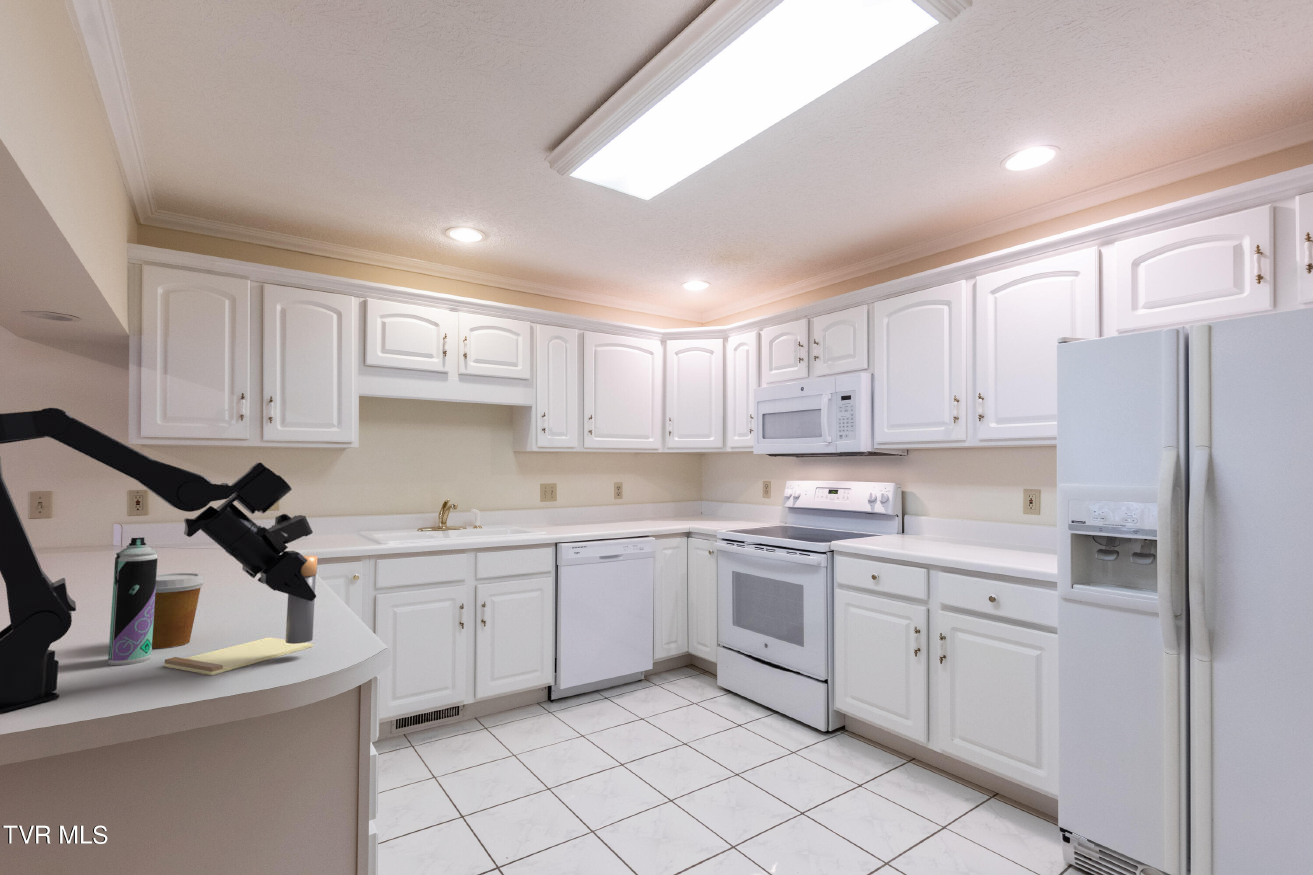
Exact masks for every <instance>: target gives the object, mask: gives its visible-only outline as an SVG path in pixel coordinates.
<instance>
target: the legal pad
mask: <svg viewBox="0 0 1313 875" xmlns="http://www.w3.org/2000/svg"><path fill="white" fill-rule="evenodd" d="M313 646H314V644H313V643H310V642H305V643H298V644H290V643H286V639H284V638H283V639H282V638H275V637H270V636H269V637H265V638H261V639H257V640H253V641H249V642H246V643H240V644H237V645H232V646H228V647H225V648H221V649H217V650H213V651H208V652H205V653H201V654H197V655H192V656H188V657H184V658H183V657H178V656H174V657H168V658H165V659H164V667H165V668H171V669H175V670H183V671H187V672H193V673H197V674H198V673H199V674H203V675H209V676H214V675H218V674H221V673H225V672H228V671H231V670H234V669H238V668H242V667H247V666H249V665H253V664H256V663H260V662H264V661H266V660H270V659H273V658H277V657H281V656H284V655H288V654H292V653H296V652H299V651H302V650H305V649H309V648H313Z"/></svg>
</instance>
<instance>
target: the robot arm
mask: <svg viewBox="0 0 1313 875" xmlns="http://www.w3.org/2000/svg"><path fill="white" fill-rule="evenodd" d="M44 438H49V439H52V440H53V441H57V442H58V443H61V444H63V445H65V446H66V447H68V448H71V449H72V450H74V451H76V452H78V453H80V454H82V455H85V456H87V457H88V458H91V459H93V460H94V461H97V462H98V463H101V464H103V465H105V466H107V467H108V468H110V469H112V470H115V471H117V472H119V473H121V474H123V475H125V476H127V477H129V478H131V479H133V480H135V481H137V482H138V483H139V484H140V485H142V487H145V488H146V489H147V490H149V491H150V492H151V493H152V494H154V495H155V496H156V497H158V498H160V499H161V500H162V501H163V502H165V503H167V505H169V506H171V507H172V508H174V509H177V510H180V511H182V512H189V513H191V512H192V513H193V512H197V511H201V510H203V509H204V510H203V511H201V512H200V513H199V514H198V515H197V516H195V517H193V518H188V517H186V518H184V519H183V522H184V525H185V526H184V531H183V534H184V535H185V536H187V537H188V538H192V537H193V536H194V535H195V534H197V533H198V532H199V531H201V532H202V533H204V534H205V535H206V536H207V537H209V539H210V540H212V541H213V542H214V543H216V544H217V545H218V546H219V547H220V548H222V549H223V550H224V552H226V553H227V554H228V555H229V556H230V557H233V558H234V560H236V561H237V562H238V563H239V564H241V565H242V571H243V572H245V573H246V574H247V575H248V576H249V577H251V578H252V579H255V578H256V577H257V576H258V575H259V576H260V577H258V579H257V582H259V583H260V584H263V585H265V586H267V588H269V589H270V590H272V591H274V592H275V591H276V592H280V593H283V594H287V595H288V594H289V595H292V596H296V597H299V598H302V599H305V600H309V601H313V600H314V599H317V595H316V592H315V593H314V592H313V590H312V589H311V587H310V586H309V584H308V583H307V581H306V580H305V578H304V577H303V575H302V573H301V570H302V566H303V565H304V564H305V563H306V562H307V559H306V558H304V557H303V556H304V555H303V554H301V553H300V552H299V551H296V550H287V549H288V548H289V547H288V546H287V544H290V543H292V542H295V541H298V540H299V539H300V538H302V537H308V536H310V535H312V534H313V532H314V531H313V529H312V527H311V524H310V523H309V521H308V518H307V516H306V515H302V514H299V515H294V516H292V517H291V516H290V515H288V514H287V513H282V514H279V515H277V516H276V517H275V518H274V520H275V521H274V524H273V525H271V527H269V528H267V527H266V526H261V525H258V524H257V523H256V522H254V520H253V519H251V518H250V517H249V516H248V515H247V514H245V512H243V511H242V510H241V509H240V508H239V507H237V505H235V503H236V502H237V504H239V506H241V507H242V508H243V509H245V510H246V511H247V512H248V513H249V514H252V515H254V514H256V512H258V513H261V514H263V515H264V514H265V513H267V511H269V510H270V509H271V508H272V507H273V506H275V505H276V504H277V503H278V502H280V500H282V499H283V498H284V497H285V496H286V495H287V494H289V493H290V492H291V491H292V490H293V489H292V487H291V485H290V484H289V483H288V482H287V481H286V480H285V479H284V478H283V477H282V476H281V475H279V474H276V473H275V472H274V471H272V470H271V469H270V468H268V467H267V466H265V464H263V463H262V462H255V464H253V465H252V466H251V467H250V468H249V469H248V471H247V472H245V473H244V474H243V475H241V476H240V477H239V478H238V479H236V480H235V481H234V482H233V483H232V484H231V483H230V484H228V483H227V482H221V483H220V484H218V483H212V481H211V480H210V479H208V478H207V476H204V475H201V474H199V473H195V472H192V471H189V470H186V469H184V468H182V467H181V468H180V467H177V466H175V465H172V464H168V463H164V462H162V461H159V460H156V459H154V458H152V457H150V456H149V455H148V456H147V455H145V454H144V453H142V452H140V451H138V450H137V449H135V448H133V447H130V446H129V445H127V444H125V443H123V442H121V441H119V440H117V439H115V438H113V437H112V436H109V435H108V434H106V433H103V432H102V431H99V430H98V429H95V428H94V427H92V426H90V425H88V424H87V423H84V422H82V421H80V420H78V419H77V418H75V417H73V416H71V415H70V414H69V413H68V412H66V411H65V410H63V409H61V408H58V407H48V408H47V407H46V408H42V409H41V410H39V409H38V410H31V411H19V412H8V413H7V412H6V413H0V445H2V444H9V443H10V444H12V443H16V442H24V441H31V440H37V439H44ZM223 500H225V501H223ZM217 501H223V503H221V504H220V505H218V506H217V507H216V508H215V507H214V506H212V505H209V504H210V503H212V502H217ZM208 505H209V506H208ZM207 506H208V507H207ZM0 575H1V577H2V579H3V581H4V583H5V588H6V597H7V598H6V599H7V607H8V615H9V619H10V620H9V621H10V623H9V624H8V625H7V626H6V627H4V628H3V629H1V630H0V713H4V712H10V711H12V710H13V711H14V710H17V709H20V708H24V707H28V706H31V705H36V704H39V703H40V704H41V703H44V702H47V701H50V700H56V699H59V698H60V696H61V695H60V693H58V692H56V691H57V688H58V677H59V676H58V674H59V663H60V661H59V660H57V659H56V650H55V649H54V650H53V649H49V648H50V647H51V644H53V643H55V642H58V641H60V639H61V638H63V637H64V636H65V635H67V633H68V632H69V630H70V629H71V626H72V622H73V621H72V620H73V619H72V617H73V616H72V614H73V613H72V612H76V611H77V604H76V601H75V600H74V599H73V598H71V596H70V595H69V593H68V588H67V582H66V578H65V577H62V578H60V579H57V580H56V581H54V582H53V581H52V580H51V579H50V578H49V577H48V575H47V574H46V573H45V571H44V570H43V568H42V566H41V563H40V562H39V559H38V557H37V554H36V551H35V549H34V547H33V544H32V542H31V540H30V538H29V536H28V533H27V531H26V528H25V526H24V524H23V522H22V519H21V516H20V514H19V512H18V510H17V508H16V504H15V502H14V500H13V498H12V495H11V494H10V490H9V488H8V486H7V484H6V481H5V478H4V476H3V469H2V458H1V457H0Z"/></svg>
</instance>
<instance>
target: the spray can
mask: <svg viewBox="0 0 1313 875" xmlns="http://www.w3.org/2000/svg"><path fill="white" fill-rule="evenodd" d="M157 554H158V551H157V550H155V549H153V548H152V547H150V546H149V544H148V543H147V542H145V537H131V539H130V542H129V544H127V545H126V548H123V549H121V550H120V551H118V552H116V553H115V555H116V556H115V558H114V568H113V570H114V571H113V584H112V596H111V597H112V600H111V612H110V625H109V626H110V627H109V642H108V656H107V657H108V658H107V665H111V666H126V665H133V664H140V663H144V662H146V661H149V660H151V658H152V653H153V652H152V649H153V648H152V636H153V621H154V605H155V590H156V575H158V573H157V572H158V571H157V570H158V555H157Z"/></svg>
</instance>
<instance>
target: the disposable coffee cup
mask: <svg viewBox="0 0 1313 875" xmlns="http://www.w3.org/2000/svg"><path fill="white" fill-rule="evenodd" d="M204 583H205V580H203V576H202V573H195V572H194V573H193V572H178V573H177V572H176V573H175V572H174V573H164V574H163V573H161V574H157V575H156V590H155V605H154V621H153V636H152V649H169V648H175V647H179V646H183V645H187V644H189V643H190V641H191V638H192V637H191V636H192V632H193V626H194V622H195V617H196V612H197V609H198V608H197V607H198V603H199V598H200V594H201V588H202V587H203V584H204Z"/></svg>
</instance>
